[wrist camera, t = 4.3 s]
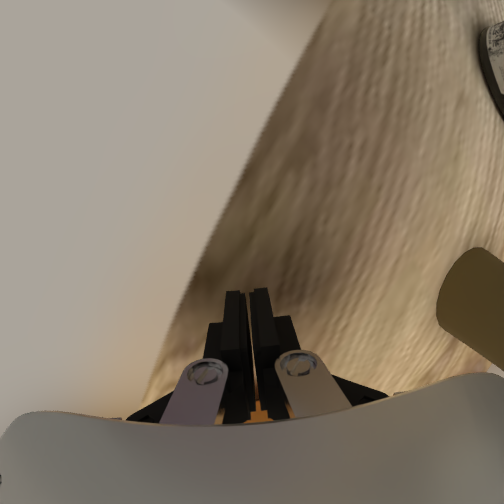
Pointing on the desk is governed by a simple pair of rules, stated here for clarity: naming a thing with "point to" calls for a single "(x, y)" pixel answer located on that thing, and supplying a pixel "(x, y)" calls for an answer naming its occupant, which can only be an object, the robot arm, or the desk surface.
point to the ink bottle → (493, 60)
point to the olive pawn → (475, 304)
